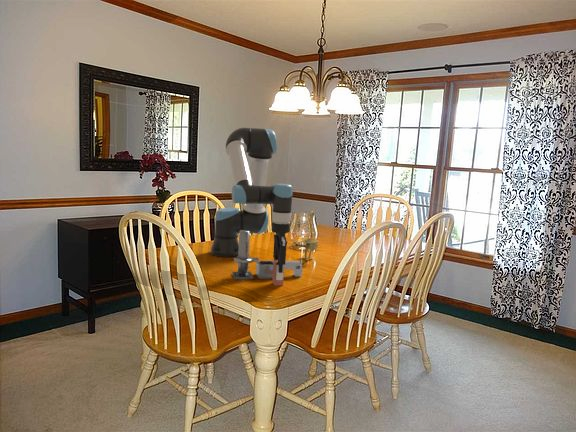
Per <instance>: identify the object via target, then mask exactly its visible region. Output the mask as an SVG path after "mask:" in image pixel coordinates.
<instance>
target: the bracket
mask: <svg viewBox="0 0 576 432" xmlns="http://www.w3.org/2000/svg"><path fill="white" fill-rule="evenodd" d="M255 263H256V264H255V265H256V266H255V275H256V277H257V278H258V280H266V279H267V280H270V279H271V280H273V266H274V260H259V262H255ZM284 270H293V274H292V275H293V276H294V277H295V278H299V277H300V278H301V277H302V276H303V265H302V264H301V261H300V260H286V261H285V264H284Z"/></svg>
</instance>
